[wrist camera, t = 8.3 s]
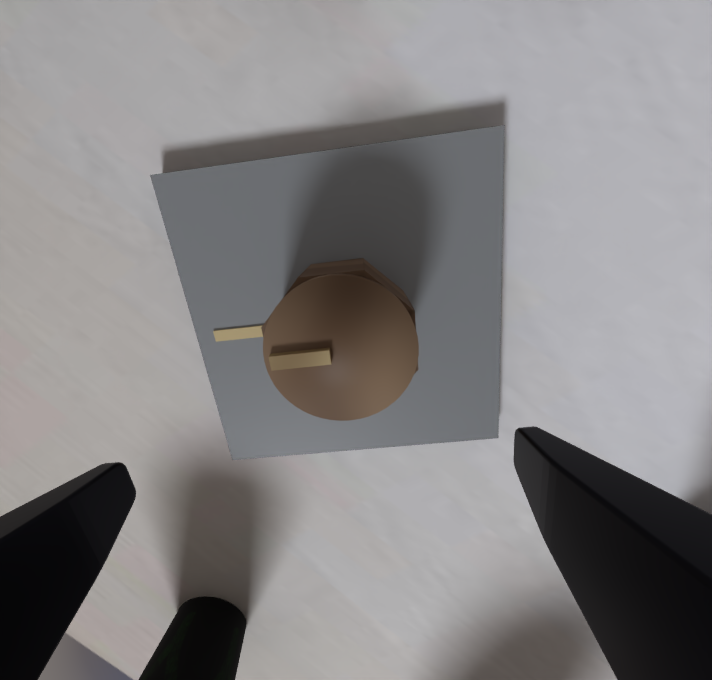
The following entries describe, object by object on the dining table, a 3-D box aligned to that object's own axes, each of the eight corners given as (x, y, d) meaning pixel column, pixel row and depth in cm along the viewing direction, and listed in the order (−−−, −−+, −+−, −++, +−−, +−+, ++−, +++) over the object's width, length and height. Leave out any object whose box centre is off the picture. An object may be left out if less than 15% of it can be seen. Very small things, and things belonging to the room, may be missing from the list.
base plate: (496, 130, 16) (536, 104, 12) (492, 428, 21) (519, 473, 17) (162, 177, 17) (104, 166, 13) (238, 449, 22) (212, 497, 19)
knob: (400, 253, 17) (415, 266, 12) (408, 369, 19) (424, 417, 14) (274, 268, 17) (244, 286, 13) (296, 381, 19) (277, 431, 15)
